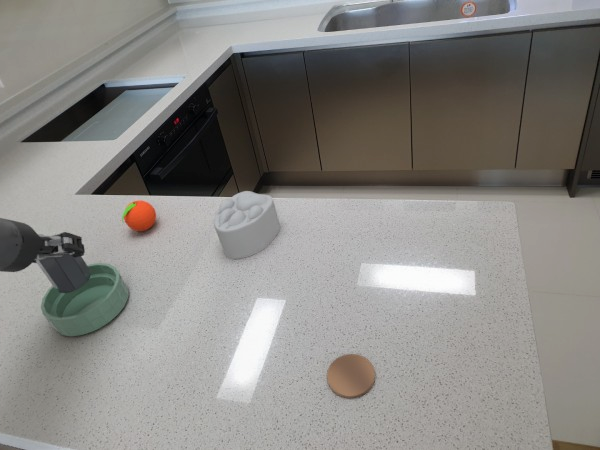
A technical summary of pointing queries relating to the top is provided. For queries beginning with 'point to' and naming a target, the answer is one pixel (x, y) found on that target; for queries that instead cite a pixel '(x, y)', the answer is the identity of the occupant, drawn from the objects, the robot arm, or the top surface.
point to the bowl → (87, 302)
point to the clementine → (139, 215)
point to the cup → (65, 272)
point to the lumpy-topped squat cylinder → (246, 224)
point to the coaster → (351, 376)
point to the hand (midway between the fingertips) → (63, 253)
